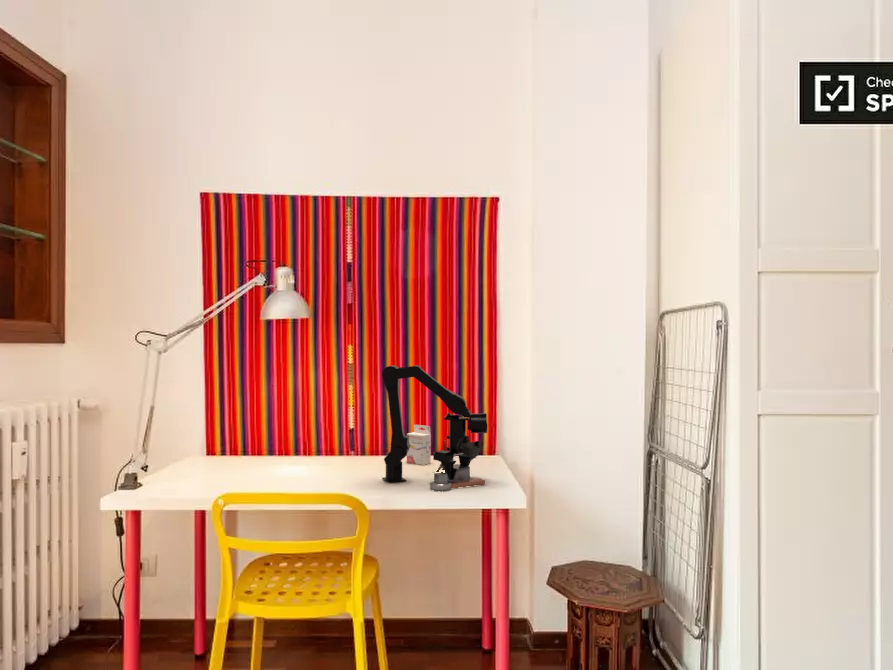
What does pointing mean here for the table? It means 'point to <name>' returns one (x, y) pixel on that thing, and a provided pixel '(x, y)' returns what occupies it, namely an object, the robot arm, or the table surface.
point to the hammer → (444, 485)
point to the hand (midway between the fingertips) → (457, 478)
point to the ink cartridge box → (419, 445)
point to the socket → (460, 473)
